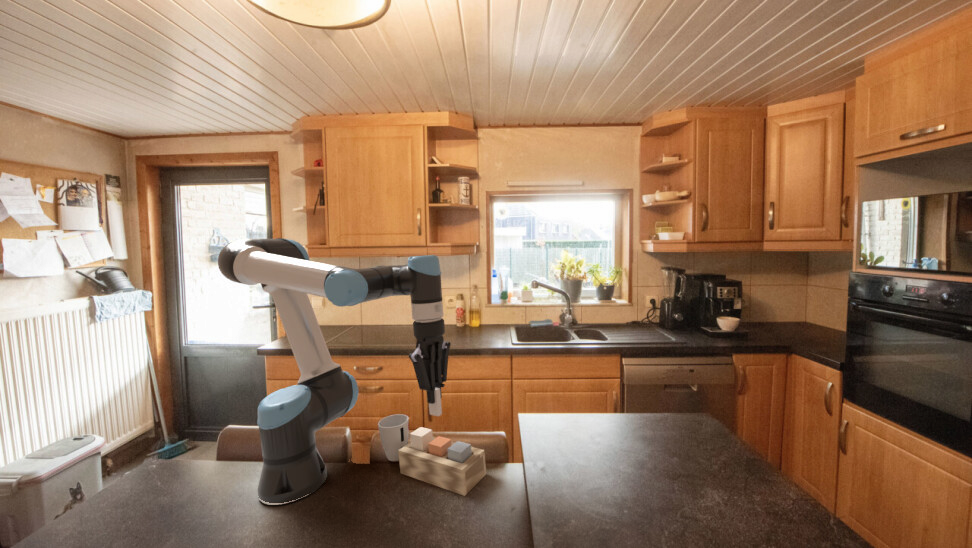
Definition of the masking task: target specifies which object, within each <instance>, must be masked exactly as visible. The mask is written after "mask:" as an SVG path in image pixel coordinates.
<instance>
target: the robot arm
mask: <svg viewBox="0 0 972 548" xmlns="http://www.w3.org/2000/svg"><path fill="white" fill-rule="evenodd" d="M309 256H310V255H309V254H308V251H307V250H306V248H305V247H304V246H303V244H301V243H300V242H298V241H296V240H294V239H291V238H290V239H289V238H281V237H278V238H277V237H276V238H240V239H236V240H233V241H231V242H229V243H227V244H226V245H225V246H224V247H223V248H222V249H221V250H220V251H219V254H218V258H217V266H218V269H219V271H220V272H221V274H222V276H223V277H225V278H226V279H228V281H232V282H234V283H238V284H243V285H247V286H254V285H257V284H260V285H261V287H262V290H263V291H264V292H265V293H269V294H270V295H271V298H272V300H273V302H274V305H275V308H276V311H277V313H278V316H279V319H280V322H281V324H282V328H283V330H284V332H285V335H286V338H287V341H288V343H289V346H290V349H291V351H292V354H293V356H294V359H295V361H296V364H297V367H298V370H299V373H300V376H299V379H298V380H297V384H295V385H289V386H287V387H285V388H280V389H278V390H276V391H273V392H271V393H270V394H268V395H267V396H265V397H264V398H263V399H262V400H261V401H260V402H259V404H258V407H257V427H258V429H259V431H258V432H259V440H260V447H261V455H262V469H261V473H260V475H259V476H260V477H259V482H258V486H257V496H259V497H258V499H259V498H260V499H261V500H263V501H265V502H269V503H284V502H289V501H292V500H296V499H298V498H301V497H303V496H305V495H307V494H310V493H312V492H313V491H315V490H317V489H318V488H319V487H320V486H321V485H322V484H323V483H324V482H326V481H327V479H328V472H327V465H326V464H325V462H324V461H325V460H324V459H323V457H322V456H321V454H320V452H319V450H318V448H317V443H316V433H317V431H319V430H321V429H323V428H324V427H326V426H328V425H329V424H331V423H332V422H333V421H335V420H337V419H339V418H342V417H344V416H345V415H346V414H347V413H349V411H351V410H352V409H353V408H354V407H355V405H356V402H357V401H358V398H359V385H358V382H357V380H356V377H354V376H353V375H352V374H351V373H350V372H349V371H346V370H343V368H342V366H341V364H339V363H337V362H335V361H333V359H332V356H331V353H330V350H329V348H328V346H327V343H326V340H325V338H324V334H323V332H322V330H321V326H320V324H319V321H318V319H317V316H316V314H315V311H314V308H313V305H312V303H311V300H310V297H309V295H313V296H317V297H322V298H325V299H327V300H328V301H329V302H331V304H332V305H334V306H336V307H353V306H354V307H355V306H356V305H359V304H364V303H367V302H371V301H374V300H379V299H383V298H388V297H395V296H396V297H397V296H398V297H399V296H410V303H411V318H412V320H413V322H412V329H413V336H414V337H415V339H416V343H415V350H414V351H413V353H412V352H411V353H409V354H408V358H409V360H410V361H411V362H412V365H413V370H414V372H415V376H416V380H417V383H418V388H419V390H422V391H423V390H424V391H426V402H427V403H428V410H429V411H428V412H429V415H431V416H434V417H435V416H436V417H440V416H442V414H443V409H442V398H443V397H442V388H444V387H445V386H446V385H445V383H446V382H447V379H448V377H447V376H448V365H449V364H448V363H449V354H450V353H449V351H450V348H451V345H452V343H451V342H450V341H445V340H444V339H445V338H444V336H443V335H444V334H445V333H446V328H445V320H444V318H443V317H444V304H443V303H444V302H443V291H442V290H443V289H442V276H441V275H442V271H441V266H440V265H441V264H440V259H439V257H438V256H437V255H435V254H430V255H429V254H428V255H416V256H415V255H414V256H409V257H408V258H407V264H403V265H402V264H401V265H400V264H399V265H377V266H371V267H367V268H366V267H365V268H352V267H347V266H341V265H337V264H336V265H335V264H331V263H325V262H321V261H320V262H319V261H313V260H310V257H309ZM326 478H327V479H326ZM325 480H326V481H325ZM324 484H325V483H324ZM324 484H323V485H324ZM323 485H322V486H323ZM322 486H321V487H322ZM321 487H320V488H321ZM320 488H319V489H320ZM319 489H318V490H319ZM318 490H317V491H318ZM315 492H316V491H315ZM312 494H313V493H312Z"/></svg>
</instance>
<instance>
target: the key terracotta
mask: <svg viewBox="0 0 972 548" xmlns="http://www.w3.org/2000/svg"><path fill="white" fill-rule="evenodd" d="M451 442H452V439H451V438H447V437H443V436H441V435H438V436H437V437H436V438H435V439H434V440H432V441H431V442H430V443H428V447H429V454H431V455H435V456H438V457H441V458H442V457H443V456H445V455H446V454H447V453H448V450H447V449H448V448H449V447H450V446H452V443H451Z"/></svg>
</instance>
